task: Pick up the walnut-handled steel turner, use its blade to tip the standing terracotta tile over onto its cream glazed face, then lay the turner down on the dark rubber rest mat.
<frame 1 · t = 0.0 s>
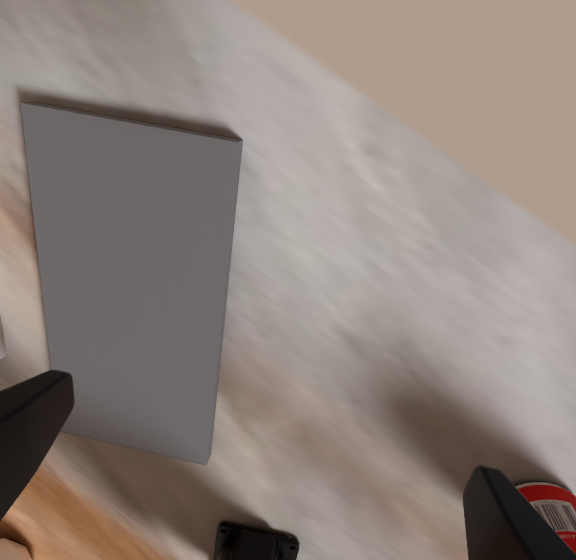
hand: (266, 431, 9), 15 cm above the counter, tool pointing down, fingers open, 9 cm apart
beverage can: (537, 505, 29), on the counter
ball: (16, 547, 40), on the counter
rest mat: (137, 307, 26), on the counter
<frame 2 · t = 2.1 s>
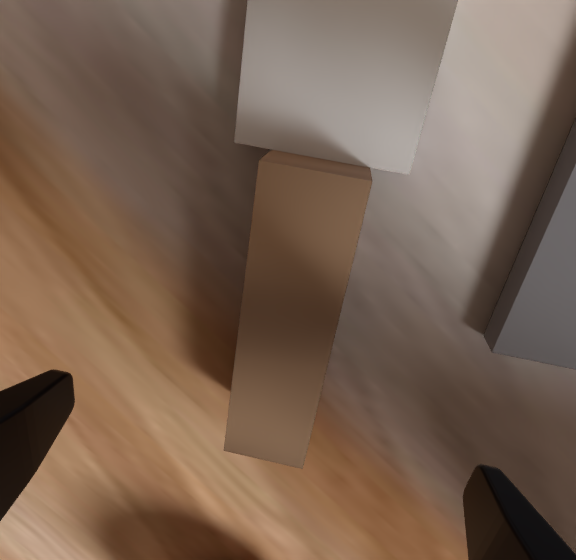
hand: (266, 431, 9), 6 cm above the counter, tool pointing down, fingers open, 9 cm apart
turner: (316, 185, 13), on the counter
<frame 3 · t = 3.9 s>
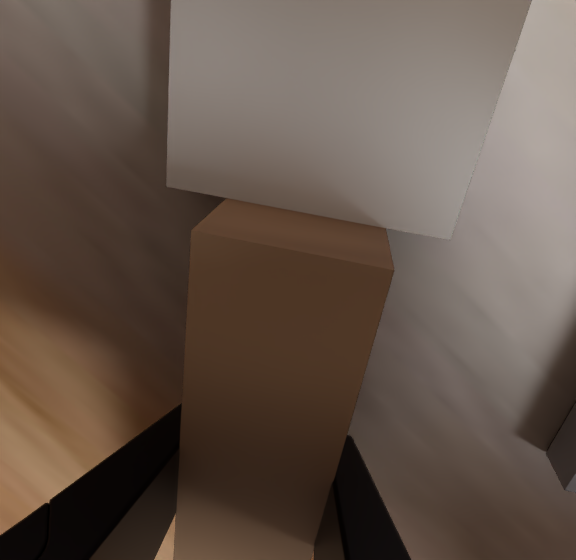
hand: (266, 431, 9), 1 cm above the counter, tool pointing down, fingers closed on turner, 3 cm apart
turner: (302, 246, 9), on the counter, touching gripper
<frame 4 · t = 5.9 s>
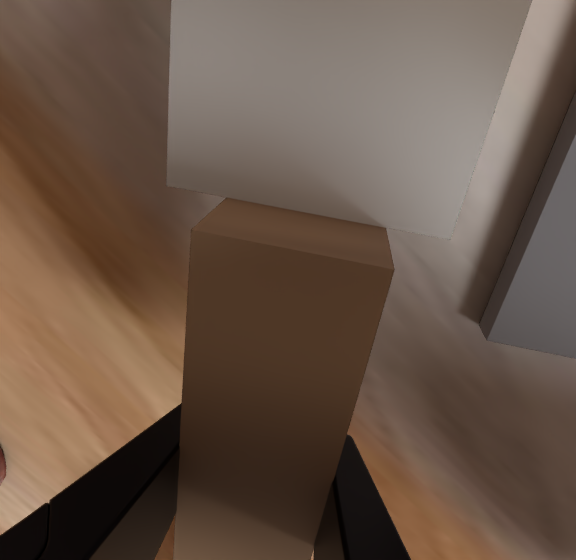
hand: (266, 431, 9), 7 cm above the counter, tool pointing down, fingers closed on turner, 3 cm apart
turner: (302, 245, 9), point 6 cm above the counter, touching gripper
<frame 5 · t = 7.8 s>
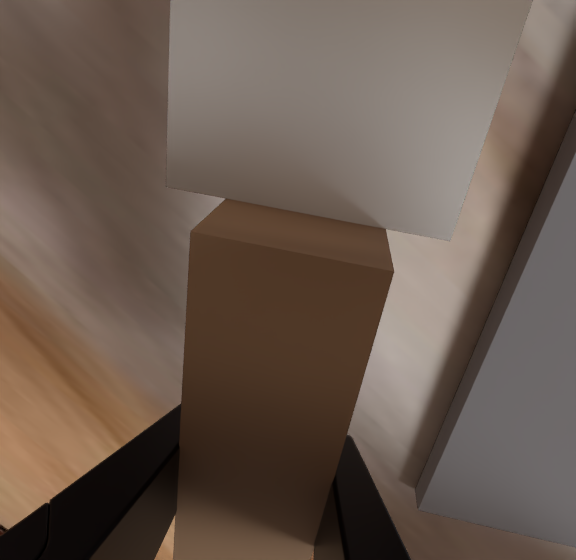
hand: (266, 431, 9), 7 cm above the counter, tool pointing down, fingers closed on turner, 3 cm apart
turner: (301, 246, 9), point 6 cm above the counter, touching gripper
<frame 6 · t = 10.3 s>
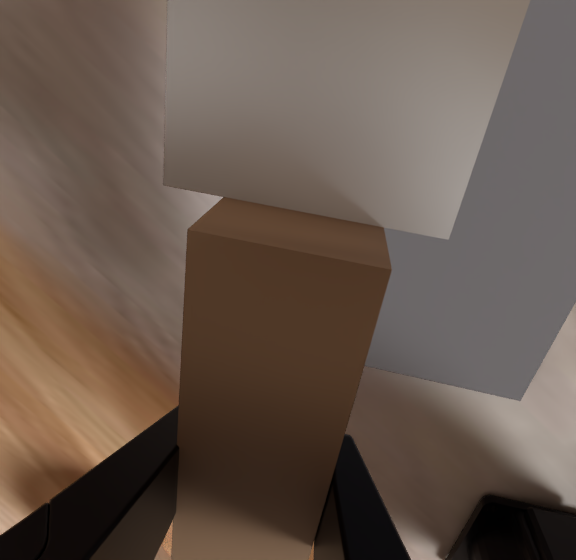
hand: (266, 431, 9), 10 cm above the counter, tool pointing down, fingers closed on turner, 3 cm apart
turner: (300, 245, 9), point 8 cm above the counter, touching gripper
ball: (136, 532, 28), on the counter
rest mat: (483, 103, 15), on the counter
when the fingers open (3 cm above the counter, at t = 12.1 s): turner stays where it is, resting on rest mat.
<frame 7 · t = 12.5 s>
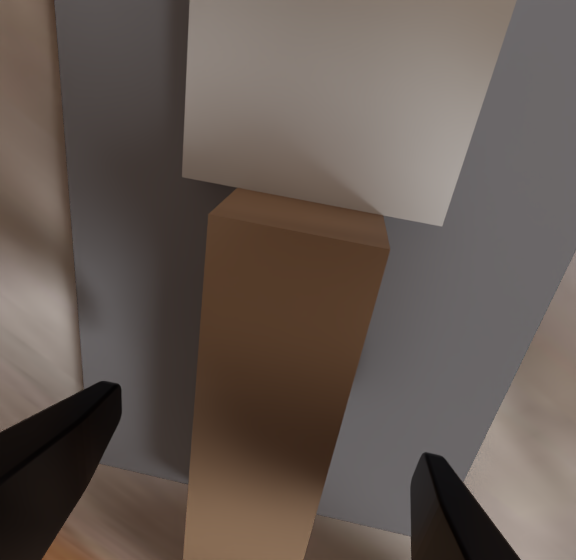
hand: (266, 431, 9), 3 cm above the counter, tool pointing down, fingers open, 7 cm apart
turner: (305, 233, 9), point 1 cm above the counter, touching rest mat
rest mat: (326, 129, 9), on the counter
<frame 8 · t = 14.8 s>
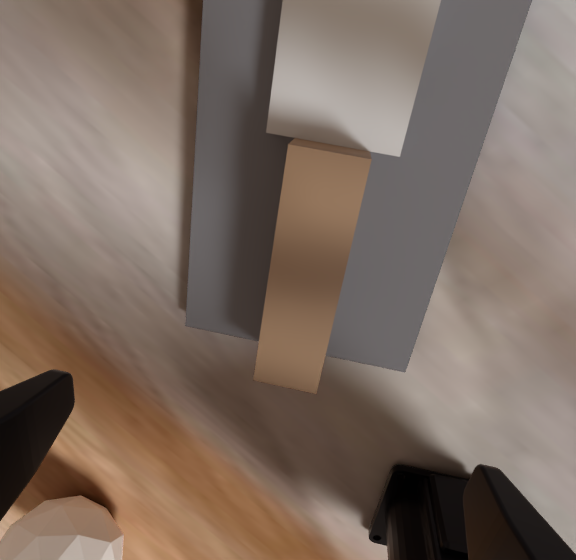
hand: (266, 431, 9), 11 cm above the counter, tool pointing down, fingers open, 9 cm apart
turner: (328, 167, 17), point 1 cm above the counter, touching rest mat
ball: (92, 509, 31), on the counter
rest mat: (339, 109, 17), on the counter
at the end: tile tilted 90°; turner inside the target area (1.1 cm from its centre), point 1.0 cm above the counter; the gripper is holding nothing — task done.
